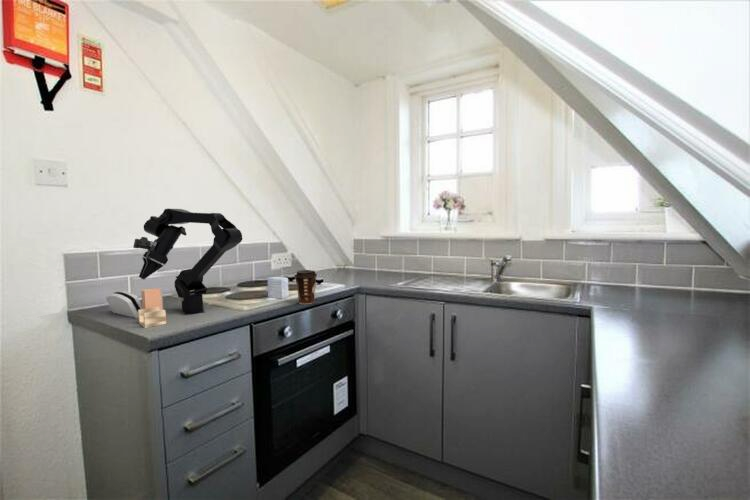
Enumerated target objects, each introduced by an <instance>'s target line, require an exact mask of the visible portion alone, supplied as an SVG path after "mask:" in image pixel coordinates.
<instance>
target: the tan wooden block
mask: <svg viewBox="0 0 750 500" xmlns="http://www.w3.org/2000/svg"><path fill="white" fill-rule="evenodd" d="M166 311H167V310H166V309H163V310H160V309H159V307H153V308H147V309H141V310H138V324H140V325H141V326H142V327H143V328H144V329H145V328H146V329H147V328H151V327H156V326H157V327H158V326H161V325H165V324H166V325H167V313H166Z"/></svg>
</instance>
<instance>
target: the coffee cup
mask: <svg viewBox="0 0 750 500" xmlns="http://www.w3.org/2000/svg"><path fill="white" fill-rule="evenodd" d="M317 276H318V275H317V273H316V271H315V270H311V269H305V270H304V269H303V270H298V271H297V272H296V274H295V275H294V278H295V282H296V287H297V288H296V289H297V298H298V304H299V305H311V304H314V303H315V295H316V289H317V288H316V286H317V285H316V284H317V281H316V278H317Z"/></svg>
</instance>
